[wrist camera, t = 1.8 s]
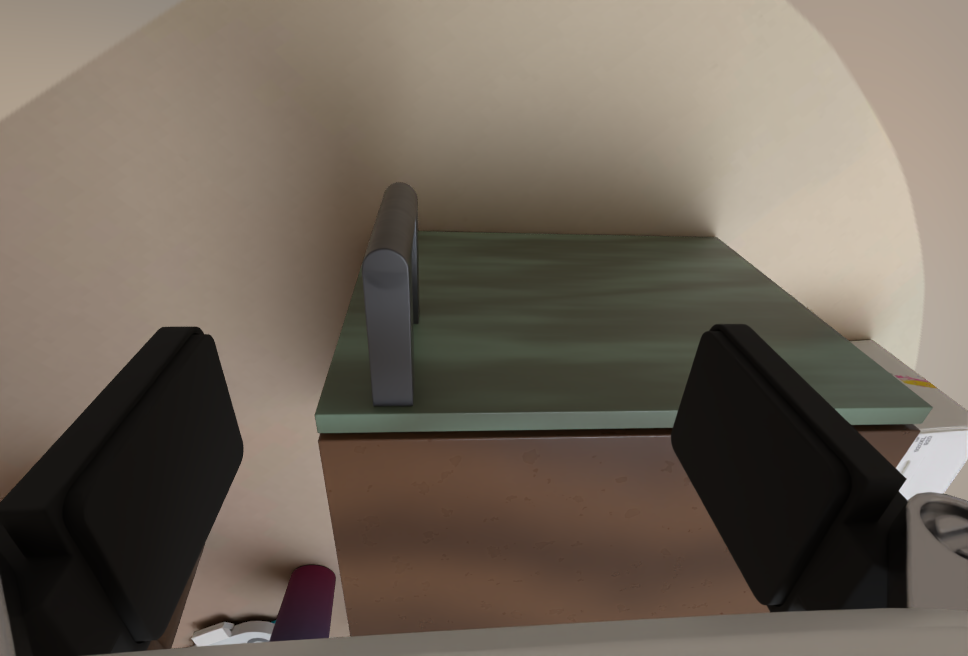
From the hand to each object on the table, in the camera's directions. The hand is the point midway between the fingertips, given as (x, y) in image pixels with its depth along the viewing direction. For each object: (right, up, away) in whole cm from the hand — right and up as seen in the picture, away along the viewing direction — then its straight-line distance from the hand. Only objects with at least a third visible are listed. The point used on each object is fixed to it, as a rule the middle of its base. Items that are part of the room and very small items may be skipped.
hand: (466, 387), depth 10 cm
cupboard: (+5, +1, +33) cm, 33 cm away
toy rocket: (-30, -37, +53) cm, 72 cm away
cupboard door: (+5, +11, +26) cm, 29 cm away
